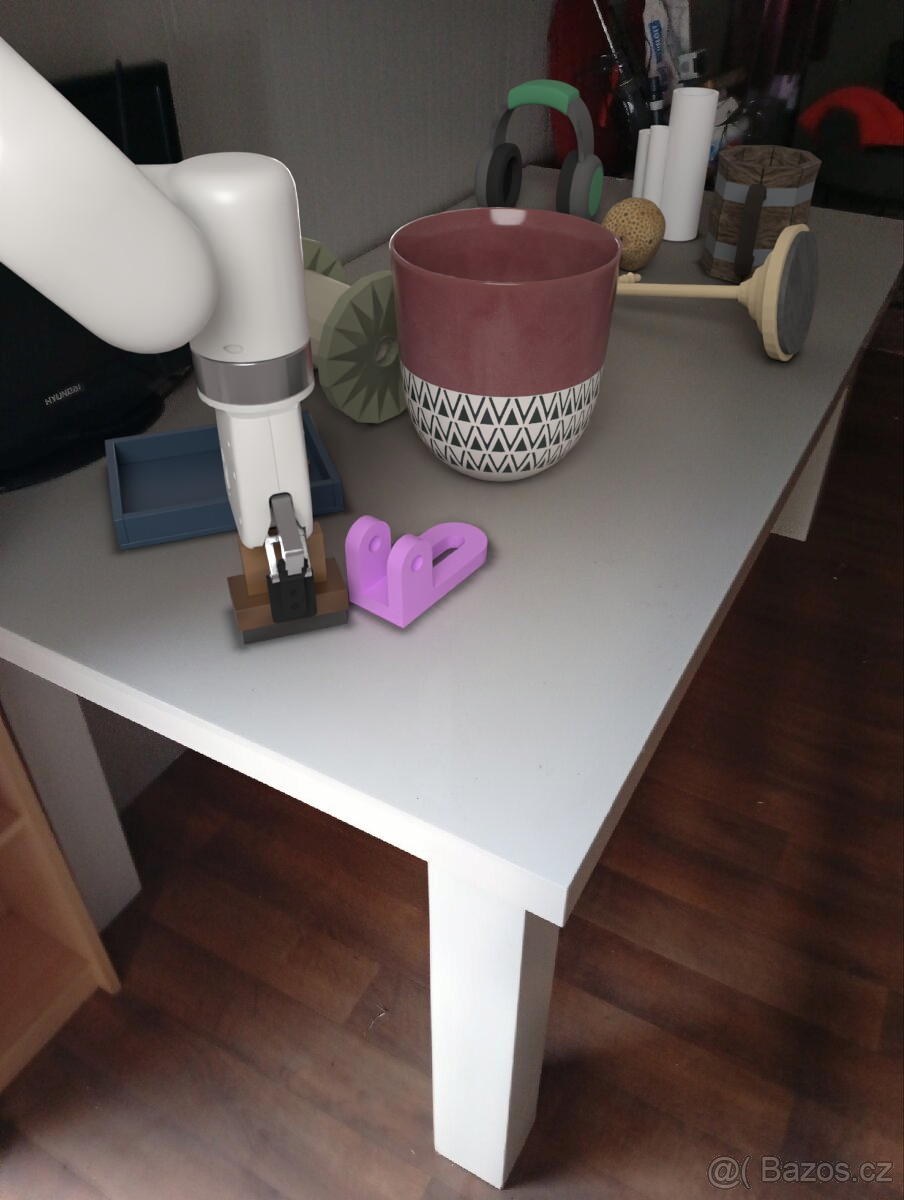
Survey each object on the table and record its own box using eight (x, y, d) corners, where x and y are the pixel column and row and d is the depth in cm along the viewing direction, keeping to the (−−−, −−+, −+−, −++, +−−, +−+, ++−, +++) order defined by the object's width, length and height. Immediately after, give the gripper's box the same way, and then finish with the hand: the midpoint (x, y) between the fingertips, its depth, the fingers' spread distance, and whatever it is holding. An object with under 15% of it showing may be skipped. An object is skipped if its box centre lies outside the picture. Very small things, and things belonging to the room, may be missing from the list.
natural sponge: (614, 285, 131) (622, 210, 125) (583, 265, 138) (590, 192, 131) (670, 277, 134) (681, 203, 128) (638, 257, 140) (646, 186, 134)
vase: (702, 231, 150) (724, 89, 137) (687, 244, 145) (710, 98, 132) (633, 220, 154) (650, 82, 142) (618, 233, 149) (633, 90, 137)
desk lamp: (829, 214, 111) (531, 219, 132) (729, 259, 86) (380, 256, 107) (816, 343, 118) (535, 328, 139) (720, 419, 93) (393, 387, 114)
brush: (242, 647, 71) (226, 561, 67) (233, 612, 75) (217, 528, 70) (350, 624, 74) (343, 539, 69) (337, 591, 77) (329, 508, 72)
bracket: (403, 628, 73) (400, 555, 69) (349, 601, 76) (343, 528, 72) (499, 550, 81) (502, 480, 77) (448, 528, 84) (448, 459, 80)
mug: (707, 248, 143) (725, 140, 134) (800, 259, 140) (825, 149, 130) (684, 292, 129) (702, 175, 120) (786, 306, 125) (814, 186, 116)
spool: (440, 396, 104) (439, 258, 95) (333, 442, 96) (321, 297, 87) (345, 351, 114) (335, 222, 104) (240, 390, 105) (219, 254, 96)
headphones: (602, 218, 155) (616, 80, 143) (582, 237, 147) (594, 93, 135) (495, 204, 161) (499, 71, 149) (469, 222, 153) (471, 83, 141)
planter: (498, 400, 104) (505, 194, 90) (639, 467, 92) (671, 244, 79) (357, 460, 93) (342, 238, 80) (496, 545, 82) (505, 303, 69)
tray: (121, 550, 81) (113, 520, 79) (111, 468, 92) (104, 439, 90) (344, 510, 86) (341, 481, 84) (310, 436, 97) (307, 409, 95)
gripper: (179, 323, 66) (216, 527, 77) (213, 437, 54) (251, 662, 64) (286, 310, 68) (307, 511, 79) (342, 417, 56) (359, 639, 66)
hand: (282, 578), depth 72 cm, fingers open, 9 cm apart
